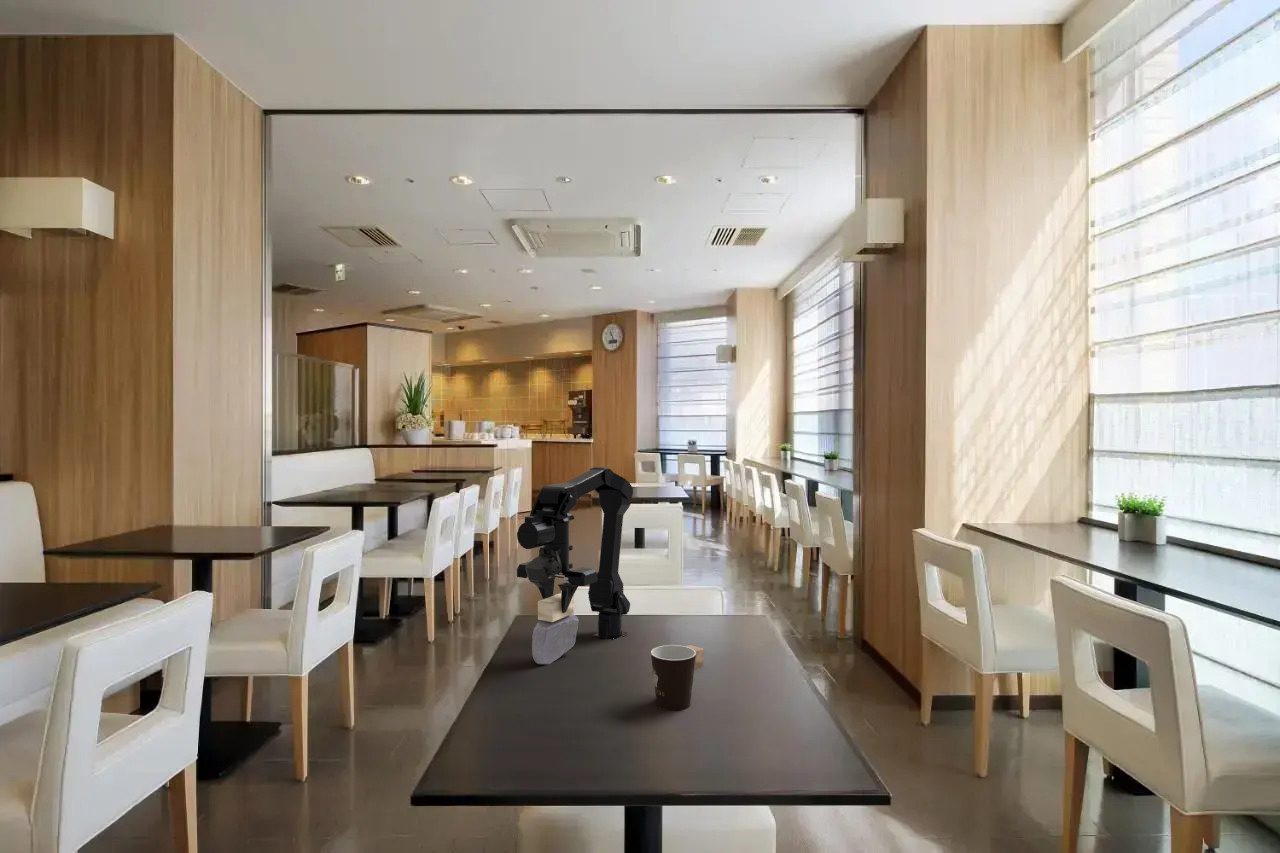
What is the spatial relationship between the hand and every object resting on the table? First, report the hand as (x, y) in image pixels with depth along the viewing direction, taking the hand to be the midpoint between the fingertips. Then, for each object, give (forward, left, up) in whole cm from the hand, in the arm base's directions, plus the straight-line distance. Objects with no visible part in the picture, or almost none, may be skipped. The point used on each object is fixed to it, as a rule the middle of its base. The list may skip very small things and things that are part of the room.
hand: (556, 611), depth 154 cm
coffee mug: (+6, +33, -12) cm, 36 cm away
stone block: (0, 0, -12) cm, 12 cm away
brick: (-11, +27, -12) cm, 31 cm away
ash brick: (0, 0, -1) cm, 1 cm away
